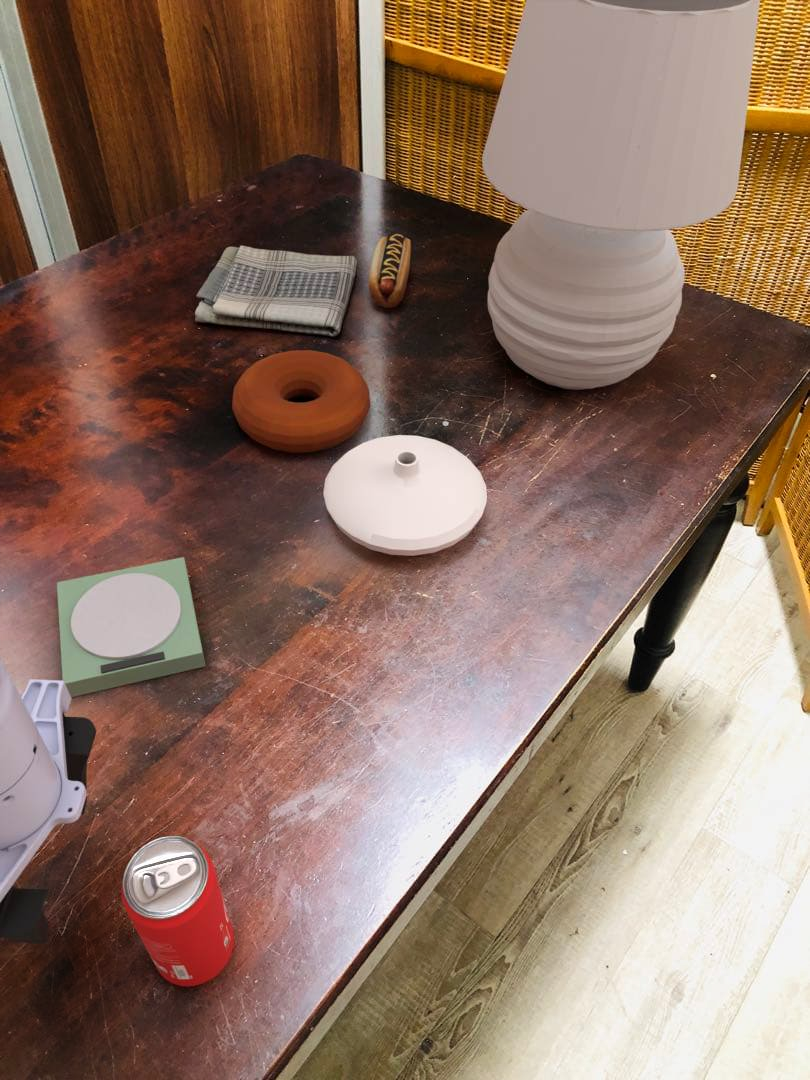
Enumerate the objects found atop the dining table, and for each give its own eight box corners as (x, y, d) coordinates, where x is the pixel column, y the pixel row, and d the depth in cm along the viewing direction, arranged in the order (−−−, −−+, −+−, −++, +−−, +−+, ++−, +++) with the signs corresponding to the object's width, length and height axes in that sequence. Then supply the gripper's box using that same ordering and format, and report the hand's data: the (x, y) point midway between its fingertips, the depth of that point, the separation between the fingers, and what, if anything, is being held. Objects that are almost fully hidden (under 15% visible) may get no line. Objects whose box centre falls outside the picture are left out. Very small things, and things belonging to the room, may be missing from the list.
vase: (305, 477, 90) (301, 423, 85) (447, 445, 94) (452, 392, 89) (353, 589, 80) (352, 536, 75) (511, 548, 84) (520, 494, 79)
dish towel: (360, 266, 119) (360, 244, 116) (339, 341, 106) (339, 318, 104) (225, 255, 119) (222, 232, 117) (189, 328, 107) (185, 305, 105)
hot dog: (363, 314, 111) (363, 279, 107) (375, 261, 120) (376, 226, 116) (403, 317, 110) (404, 282, 107) (412, 264, 119) (413, 229, 116)
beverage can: (147, 929, 59) (108, 853, 50) (222, 897, 60) (197, 818, 52) (167, 1006, 56) (129, 939, 47) (246, 970, 57) (224, 899, 49)
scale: (68, 698, 71) (61, 681, 69) (62, 596, 78) (55, 579, 76) (205, 666, 73) (201, 649, 72) (187, 571, 81) (183, 553, 79)
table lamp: (711, 353, 107) (839, -25, 78) (614, 461, 93) (727, 48, 64) (533, 283, 117) (588, -76, 88) (421, 370, 103) (442, -23, 74)
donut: (271, 481, 89) (267, 443, 86) (212, 402, 98) (206, 364, 94) (396, 434, 95) (397, 397, 91) (330, 363, 103) (328, 326, 100)
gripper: (8, 909, 37) (83, 1004, 47) (99, 635, 47) (145, 762, 57) (-158, 902, 37) (-48, 999, 47) (-32, 630, 47) (37, 757, 57)
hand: (50, 869), depth 52 cm, fingers open, 7 cm apart
